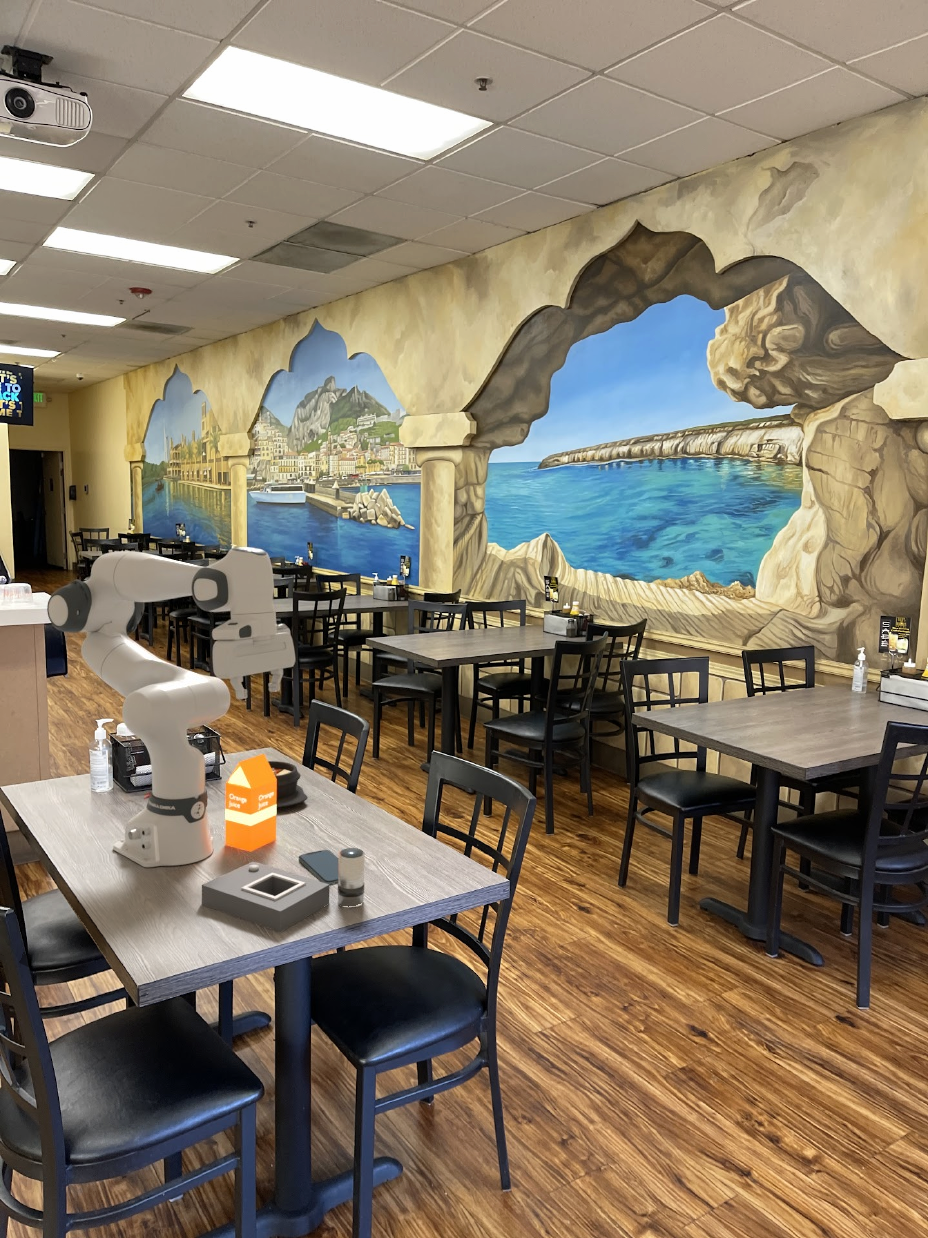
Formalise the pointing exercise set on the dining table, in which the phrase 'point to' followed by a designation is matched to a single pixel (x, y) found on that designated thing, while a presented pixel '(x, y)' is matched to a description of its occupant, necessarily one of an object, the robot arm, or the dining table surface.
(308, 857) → the smartphone
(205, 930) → the dining table surface
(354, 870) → the lens
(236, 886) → the grey socket base
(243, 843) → the orange juice
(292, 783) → the casserole
